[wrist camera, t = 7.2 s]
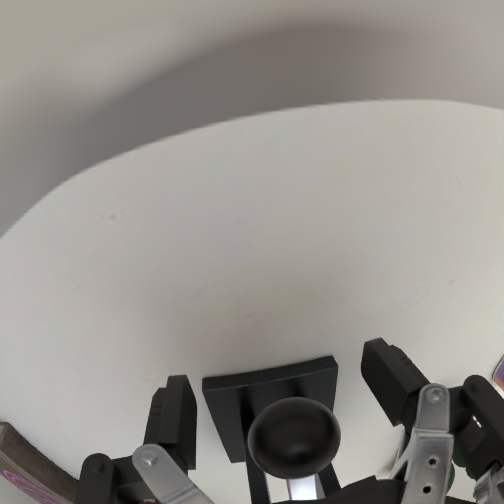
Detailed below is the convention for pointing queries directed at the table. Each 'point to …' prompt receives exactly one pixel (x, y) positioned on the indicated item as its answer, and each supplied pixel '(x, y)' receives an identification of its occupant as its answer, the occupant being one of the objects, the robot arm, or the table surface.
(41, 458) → the book
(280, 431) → the lever
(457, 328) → the table surface
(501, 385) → the beverage can
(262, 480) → the bracket
